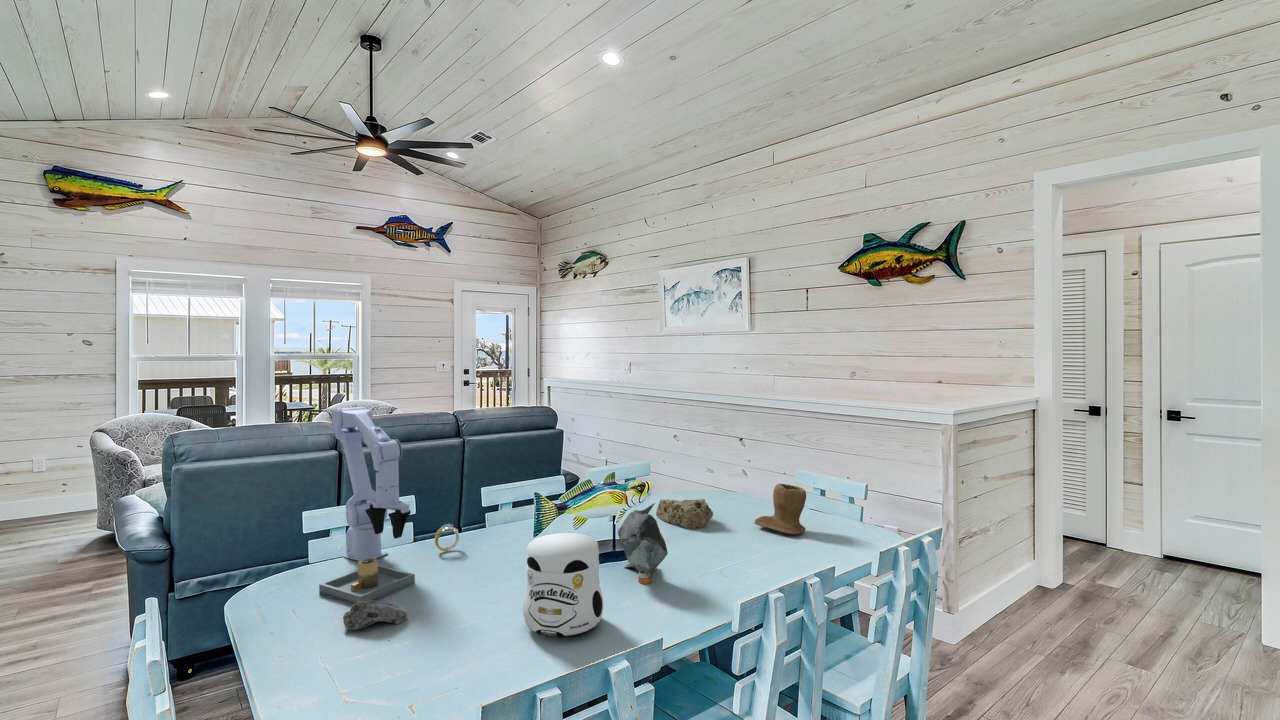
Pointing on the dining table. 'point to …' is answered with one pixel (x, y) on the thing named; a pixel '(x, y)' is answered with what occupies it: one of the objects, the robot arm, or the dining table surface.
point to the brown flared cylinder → (785, 510)
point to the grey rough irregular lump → (372, 614)
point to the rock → (685, 512)
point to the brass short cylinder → (366, 575)
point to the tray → (387, 585)
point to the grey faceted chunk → (642, 543)
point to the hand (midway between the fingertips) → (388, 535)
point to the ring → (443, 532)
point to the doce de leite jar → (562, 585)
